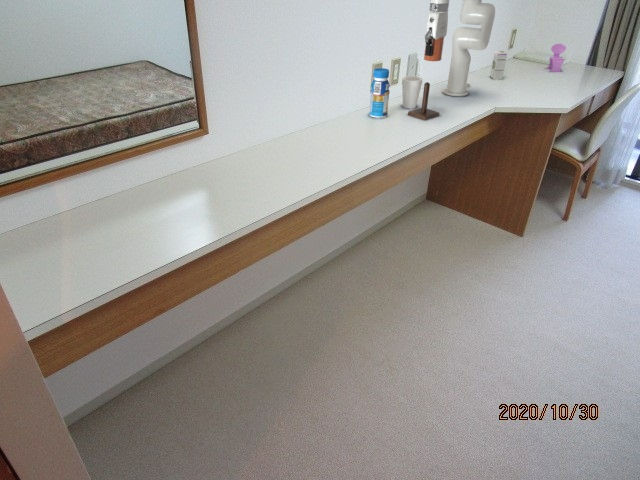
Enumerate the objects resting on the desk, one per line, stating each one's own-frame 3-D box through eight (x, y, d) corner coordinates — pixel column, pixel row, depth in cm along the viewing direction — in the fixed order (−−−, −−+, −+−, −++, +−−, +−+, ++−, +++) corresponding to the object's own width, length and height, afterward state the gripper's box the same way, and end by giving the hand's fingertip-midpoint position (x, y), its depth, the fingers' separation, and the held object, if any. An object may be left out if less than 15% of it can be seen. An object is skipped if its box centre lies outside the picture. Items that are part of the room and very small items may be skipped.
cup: (431, 57, 198) (433, 34, 193) (444, 59, 194) (447, 37, 189) (420, 59, 195) (423, 36, 190) (434, 62, 190) (436, 39, 185)
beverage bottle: (365, 114, 207) (368, 68, 196) (381, 111, 210) (385, 66, 199) (374, 119, 201) (377, 72, 190) (391, 116, 203) (395, 70, 193)
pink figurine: (548, 71, 277) (555, 45, 269) (544, 68, 285) (551, 43, 277) (562, 72, 276) (569, 46, 268) (558, 69, 284) (565, 43, 275)
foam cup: (419, 110, 212) (422, 81, 205) (399, 108, 214) (401, 80, 207) (419, 104, 220) (422, 76, 213) (400, 103, 221) (402, 75, 214)
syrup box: (502, 79, 262) (508, 52, 254) (492, 79, 262) (497, 52, 254) (499, 76, 267) (504, 50, 259) (489, 76, 267) (494, 50, 259)
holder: (421, 110, 211) (425, 78, 203) (439, 115, 205) (443, 82, 197) (407, 114, 206) (411, 82, 198) (424, 120, 200) (429, 86, 192)
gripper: (436, 10, 176) (431, 58, 185) (457, 6, 187) (450, 51, 196) (419, 9, 180) (415, 56, 190) (440, 5, 191) (435, 49, 201)
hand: (433, 53), depth 193 cm, fingers closed on cup, 7 cm apart
